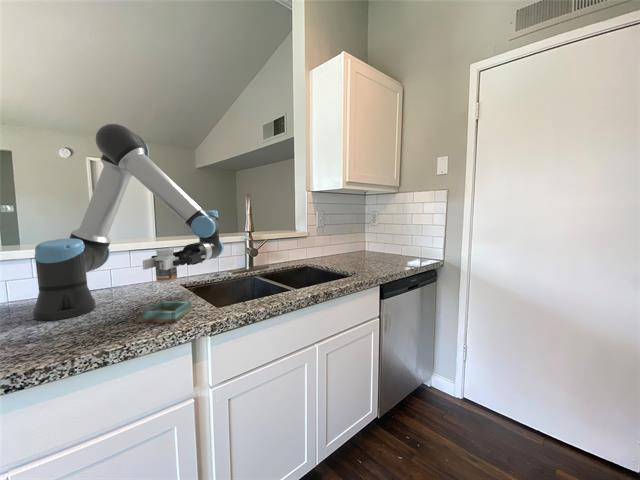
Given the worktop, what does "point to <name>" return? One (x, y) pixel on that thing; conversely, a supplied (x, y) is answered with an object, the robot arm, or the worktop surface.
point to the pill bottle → (162, 274)
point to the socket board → (165, 312)
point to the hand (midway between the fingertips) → (154, 265)
